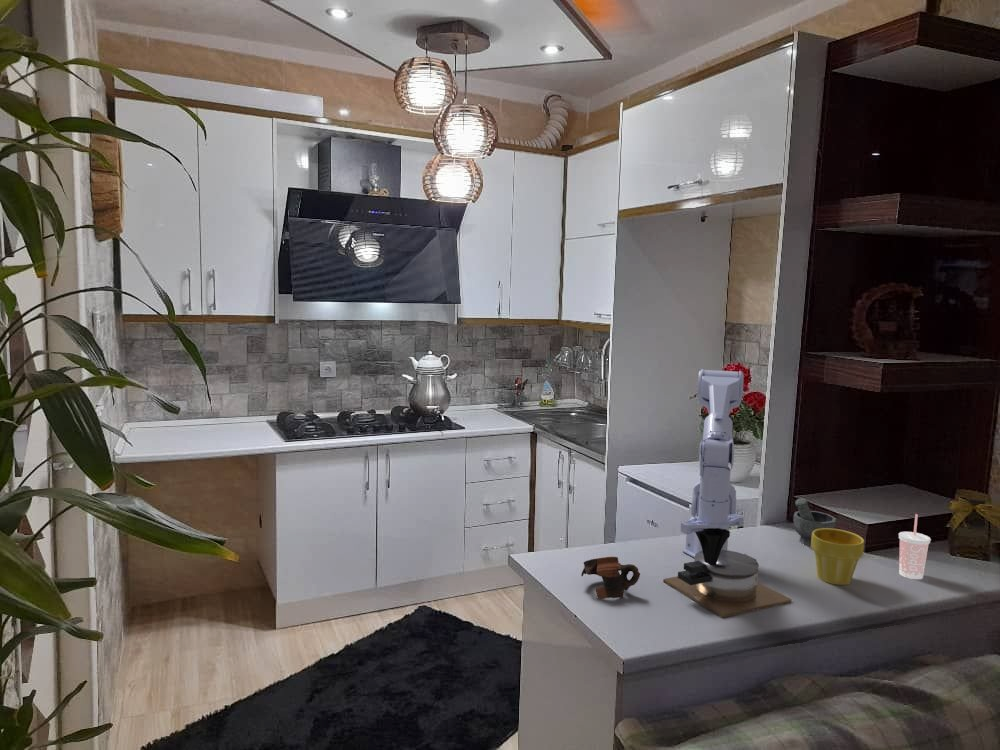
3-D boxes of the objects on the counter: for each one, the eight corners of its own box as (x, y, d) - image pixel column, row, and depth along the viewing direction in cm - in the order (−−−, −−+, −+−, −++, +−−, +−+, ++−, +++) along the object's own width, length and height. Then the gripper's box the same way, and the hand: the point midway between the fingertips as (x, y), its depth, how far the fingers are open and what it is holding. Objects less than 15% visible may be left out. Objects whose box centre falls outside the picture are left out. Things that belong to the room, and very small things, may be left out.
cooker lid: (729, 550, 154) (730, 544, 154) (773, 571, 142) (774, 565, 142) (667, 560, 147) (667, 554, 147) (708, 583, 135) (709, 577, 135)
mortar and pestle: (811, 534, 182) (814, 489, 180) (842, 546, 173) (846, 499, 172) (779, 540, 177) (782, 494, 176) (809, 553, 169) (813, 504, 167)
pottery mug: (582, 602, 141) (576, 560, 144) (590, 604, 150) (583, 564, 153) (642, 593, 139) (634, 550, 142) (646, 595, 147) (638, 555, 150)
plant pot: (867, 591, 148) (871, 546, 146) (814, 586, 150) (818, 542, 148) (853, 572, 158) (856, 530, 156) (803, 567, 160) (807, 526, 158)
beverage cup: (893, 575, 156) (898, 514, 154) (897, 567, 161) (902, 508, 159) (925, 583, 152) (931, 520, 151) (928, 574, 157) (934, 513, 155)
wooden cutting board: (655, 583, 150) (656, 558, 149) (728, 569, 158) (729, 546, 157) (713, 619, 133) (715, 592, 133) (791, 602, 142) (793, 576, 141)
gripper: (698, 508, 135) (695, 575, 137) (756, 500, 141) (751, 564, 143) (675, 498, 141) (672, 562, 143) (731, 490, 147) (727, 552, 149)
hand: (710, 563), depth 143 cm, fingers closed
